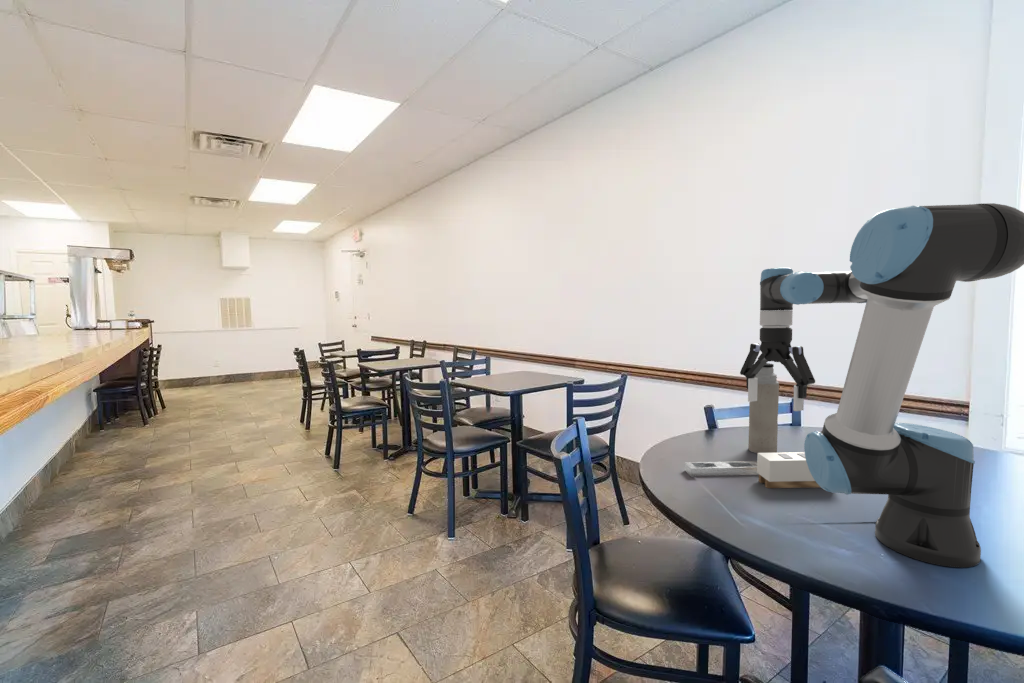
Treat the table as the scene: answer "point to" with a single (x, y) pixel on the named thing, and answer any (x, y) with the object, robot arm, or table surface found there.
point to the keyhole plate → (721, 468)
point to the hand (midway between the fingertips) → (774, 405)
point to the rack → (787, 483)
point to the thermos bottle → (764, 413)
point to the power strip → (783, 466)
